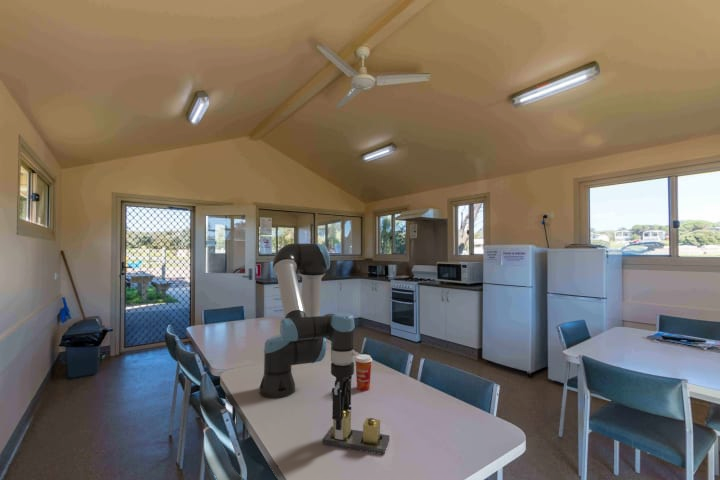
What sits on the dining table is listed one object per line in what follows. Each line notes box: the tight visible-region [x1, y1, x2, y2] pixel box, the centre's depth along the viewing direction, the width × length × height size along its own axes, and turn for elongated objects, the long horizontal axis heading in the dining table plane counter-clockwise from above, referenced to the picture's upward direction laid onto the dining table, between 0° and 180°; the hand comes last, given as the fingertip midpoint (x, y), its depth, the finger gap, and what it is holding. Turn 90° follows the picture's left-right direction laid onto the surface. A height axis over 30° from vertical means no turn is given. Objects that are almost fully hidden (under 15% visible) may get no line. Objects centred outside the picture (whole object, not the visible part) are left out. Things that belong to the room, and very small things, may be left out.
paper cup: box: [354, 354, 373, 392], centre depth 151 cm, size 8×8×14 cm
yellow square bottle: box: [332, 410, 352, 441], centre depth 110 cm, size 4×4×8 cm
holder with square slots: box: [322, 417, 390, 455], centre depth 109 cm, size 20×8×8 cm, turn 74°
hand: (341, 434), depth 110 cm, fingers closed on yellow square bottle, 4 cm apart
